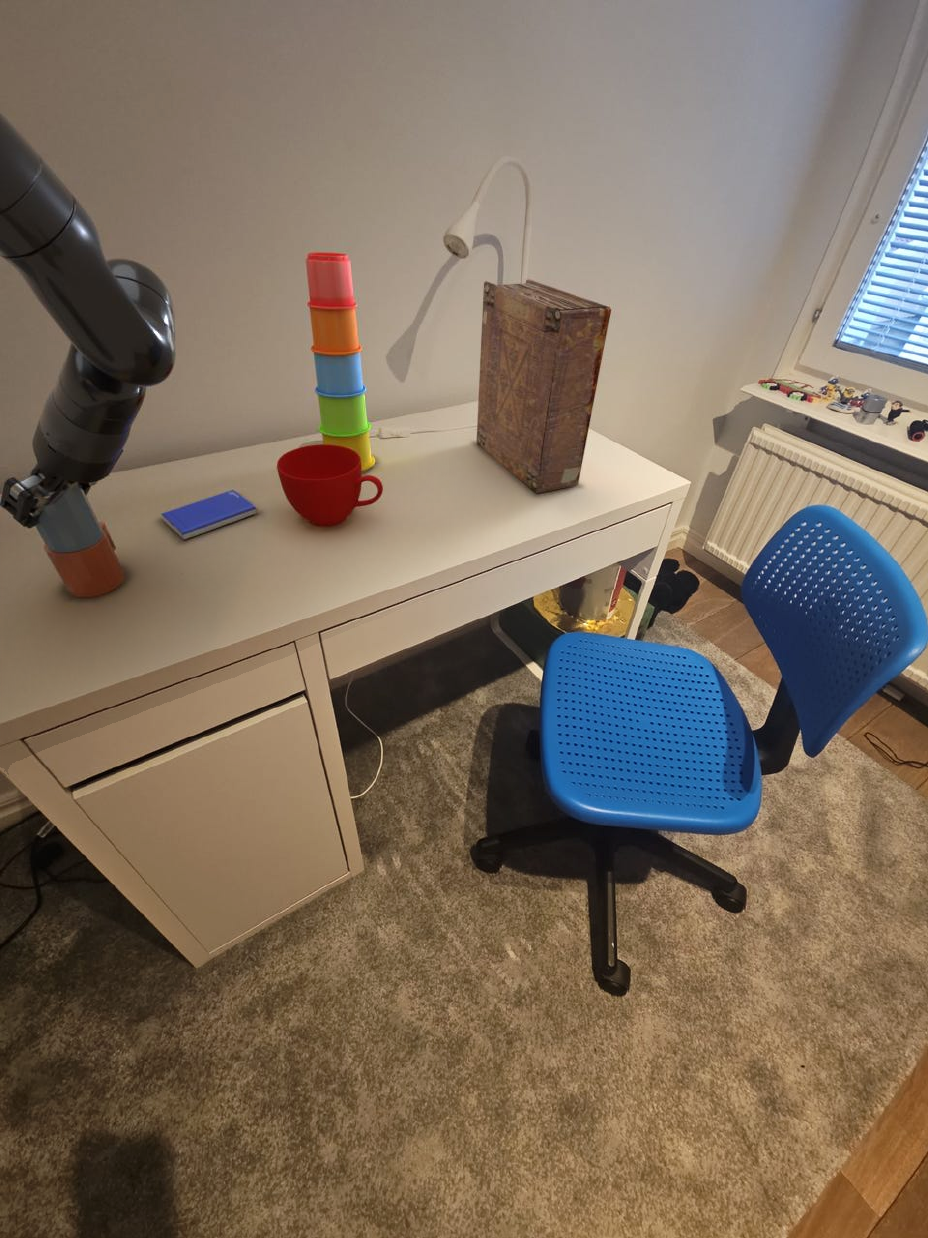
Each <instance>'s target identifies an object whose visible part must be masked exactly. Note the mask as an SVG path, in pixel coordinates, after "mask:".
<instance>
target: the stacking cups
mask: <svg viewBox="0 0 928 1238" xmlns="http://www.w3.org/2000/svg"><path fill="white" fill-rule="evenodd" d="M348 258H349V257H348V254H346V253H340V252H325V251H324V252H318V251H317V252H316V251H315V252H308V253H307V257H306V258H305V264H306V265H305V266H306V277H307V285H308V287H307V288H308V295H309V301H308V302H307V303H306V304H307V307H309V314H310V323H311V332H312V333H311V334H312V343H313V345H311V347H310V351H311V352H312V353H313V359H314V366H315V376H316V377H315V378H316V384H317V386H316V387H315V388H314V393H315V394H316V395H317V401H318V407H319V417H320V424H319V425H318V427H317V428H318V429H317V430H318V432H319V433H320V434H321V438H322V444H329V445H339V446H343V447H347V448H350V449H352V450H354V451H355V452H357V453H358V454H359V456H360V458H361V466H362V473H363V472H366V471H368V470H370V469H371V468H373V467H374V465H375V464H376V458H375V457H374V456H373V455H372V449H371V441H370V431H371V429H372V424H371V423H370V422H369V421H368V417H367V408H366V397H365V393H366V392H367V387H366V386H365V385H364V382H363V371H362V361H361V352H362V351H363V347H362V345H360V344H359V337H358V336H359V335H358V325H357V324H358V323H357V316H356V315H357V314H356V308H357V307H358V303H357V302H355V298H354V288H353V287H354V286H353V277H352V266H351V265H352V264H351V260H350V259H348Z"/></svg>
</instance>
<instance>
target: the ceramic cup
mask: <svg viewBox="0 0 928 1238" xmlns="http://www.w3.org/2000/svg"><path fill="white" fill-rule="evenodd" d="M276 470H277V475H278V477H279V482H280V484H281V487H282V490H283V493H284V495H285V497H286V499H287V501H288V503H289V504H290V506H291V508H293V510H294V511H295V512H296V513H297V514H298V515H299V516H300V517H302V518H303V519H304V520H306V521H307V522H308V523H310V525H313V526H316V527H320V528H329V527H335V526H339V525H341V524H343V523H344V522H345V521H346V520H347V519H348V517H349V516H350V515H351V514H352V512H354V510H355V508H361V507H366V506H369V505H372V504H374V503H376V502H377V501H378V500H379V499H380V498H381V496H382V495H383V491H384V486H383V483H382V481H381V480H380V479H379V477H377V476H376V475H371V474H366V475H363V472H362V466H361V458H360V456H359V454H358V453H357V452H355V451H354V450H352V449H350V448H347V447H343V446H339V445H329V444H323V443H322V444H320V443H319V444H309V445H303V446H300V447H296V448H294V449H291V450H289V451H287V452H285V453H284V454H282V455H281V456H280V457H279V458H278V460H277V463H276ZM364 482H371V483H373V484H374V485H375V486H376V490H377V492H376V494H375V495H374V496H373V497H372V498H368V499H364V500H359V499H360V496H361V493H362V486H363V485H362V484H363V483H364Z"/></svg>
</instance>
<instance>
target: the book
mask: <svg viewBox="0 0 928 1238" xmlns="http://www.w3.org/2000/svg"><path fill="white" fill-rule="evenodd" d="M482 297H483V298H482V317H481V337H480V338H481V339H480V360H479V380H478V401H477V402H478V403H477V422H476V444H477V445H478V446H479V447H480V448H481V449H483V450H484V451H485V452H486V453H487V454H489V456H491V457H492V458H493V459H495V461H497V462H498V463H499V464H500V465H502V466H503V467H504V468H505V469H506V470H508V471H509V472H510V473H512V475H514V476H515V477H516V478H517V479H518V480H519V481H521V482H522V483H523V484H524V485H526V487H527V488H529V489H530V490H531V491H532V492H534V493H535V494H536V495H537V494H541V493H546V492H550V491H551V492H552V491H555V490H560V489H564V488H571V487H575V486H577V485H579V482H580V476H581V472H582V466H583V462H584V461H583V460H584V457H585V451H586V445H587V440H588V434H589V429H590V424H591V418H592V413H593V408H594V403H595V397H596V393H597V388H598V382H599V376H600V371H601V365H602V360H603V357H604V350H605V345H606V340H607V334H608V329H609V323H610V319H611V313H612V309H611V306H607V305H605V304H602V303H599V302H596V301H593V300H590V299H587V298H584V297H582V296H578V295H576V294H573V293H570V292H567V291H564V290H561V289H559V288H556V287H552V286H550V285H548V284H547V285H546V284H544V283H541V282H538V281H535V280H533V279H529V278H528V279H525V282H524V283H507V284H496V283H493V282H490V281H487V280H485V281H483V295H482Z"/></svg>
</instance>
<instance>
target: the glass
mask: <svg viewBox="0 0 928 1238" xmlns="http://www.w3.org/2000/svg"><path fill="white" fill-rule="evenodd" d="M40 487H41V486H40ZM41 488H42V487H41ZM42 489H43V490H44V491H46V492H47V493H48V494H49V495H50V496H51V495H52V494H53V493H54V492H51V491H49V490H47V489H45V488H42ZM33 503H34V504H35V505H36V504H37V503H38V499H37V498H36V499H35V500H33ZM99 522H100V521H99V520H98V518H97V516H96V514H95V512H94V510H93V507H92V505H91V503H90V501H89V499H88V497H87V495H85V493H84V490H83V488H82V486H81V484H80V483H78V484H77V485H76V486H75V487H74V488H73V489H72V490H69V491H67V492H66V493H65V494H64V495H63V496H62V497H61V498H60V499H59V500H58V501H57V503H55V504H53V505H48V506H46V507H45V508H44V509H43V510H42V511H41V514H40V516H39V519H38V521H37V523H36V526H35V528H36V530H37V531H38V534H39V535H40V537H41V539H42V541H43V542H44V544H46V545H47V547H48V548H49V549H50V550H51V551H54V552H59V553H69V552H75V551H79V550H83V549H86V548H88V547H90V546H92V545H94V544H96V543H97V542H98V541H99V540H100V539H101V538H102V536H103V532H102V530H101V526H100V524H99Z"/></svg>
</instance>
